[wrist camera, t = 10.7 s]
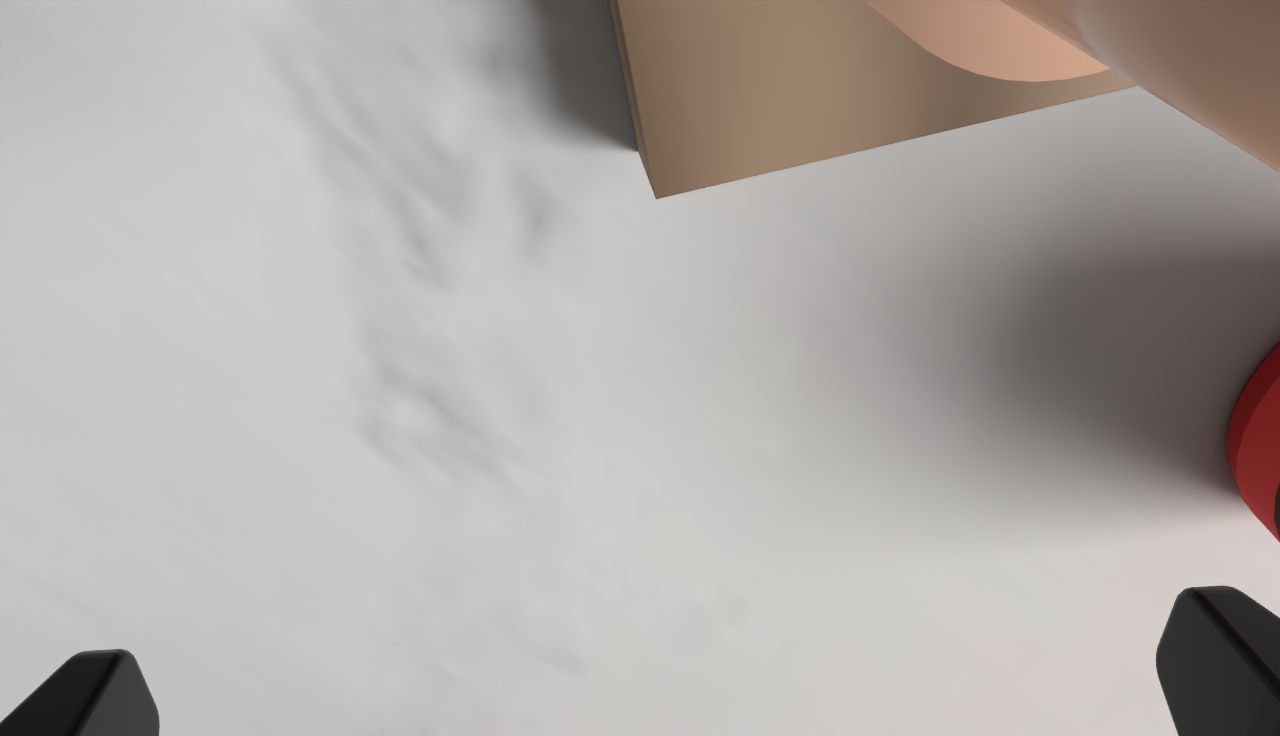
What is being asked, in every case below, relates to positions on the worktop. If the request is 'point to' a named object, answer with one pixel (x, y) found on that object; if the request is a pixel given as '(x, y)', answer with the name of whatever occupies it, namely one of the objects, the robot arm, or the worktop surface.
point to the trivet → (795, 86)
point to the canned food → (1258, 443)
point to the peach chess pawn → (1123, 51)
